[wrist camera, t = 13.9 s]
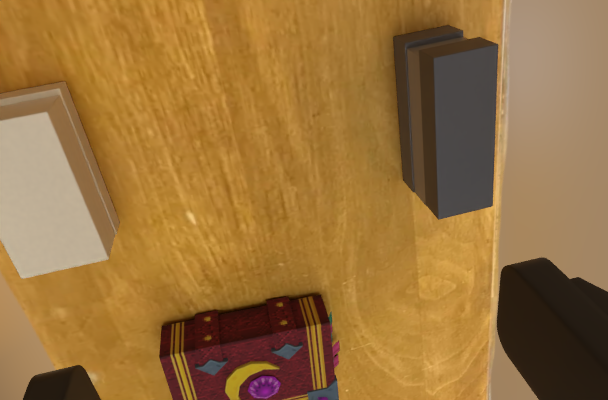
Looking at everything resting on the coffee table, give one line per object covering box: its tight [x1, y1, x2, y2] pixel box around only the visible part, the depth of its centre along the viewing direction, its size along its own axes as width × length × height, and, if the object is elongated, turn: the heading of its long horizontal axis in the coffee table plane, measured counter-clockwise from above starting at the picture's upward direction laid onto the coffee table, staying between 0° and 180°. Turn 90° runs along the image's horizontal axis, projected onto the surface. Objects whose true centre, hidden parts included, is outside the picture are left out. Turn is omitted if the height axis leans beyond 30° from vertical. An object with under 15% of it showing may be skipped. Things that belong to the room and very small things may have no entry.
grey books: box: [393, 25, 498, 219], centre depth 37 cm, size 12×4×7 cm, turn 9°
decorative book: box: [159, 295, 340, 400], centre depth 47 cm, size 11×16×5 cm
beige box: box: [0, 81, 120, 245], centre depth 35 cm, size 12×6×4 cm, turn 8°
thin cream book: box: [0, 102, 112, 279], centre depth 33 cm, size 11×6×2 cm, turn 8°
